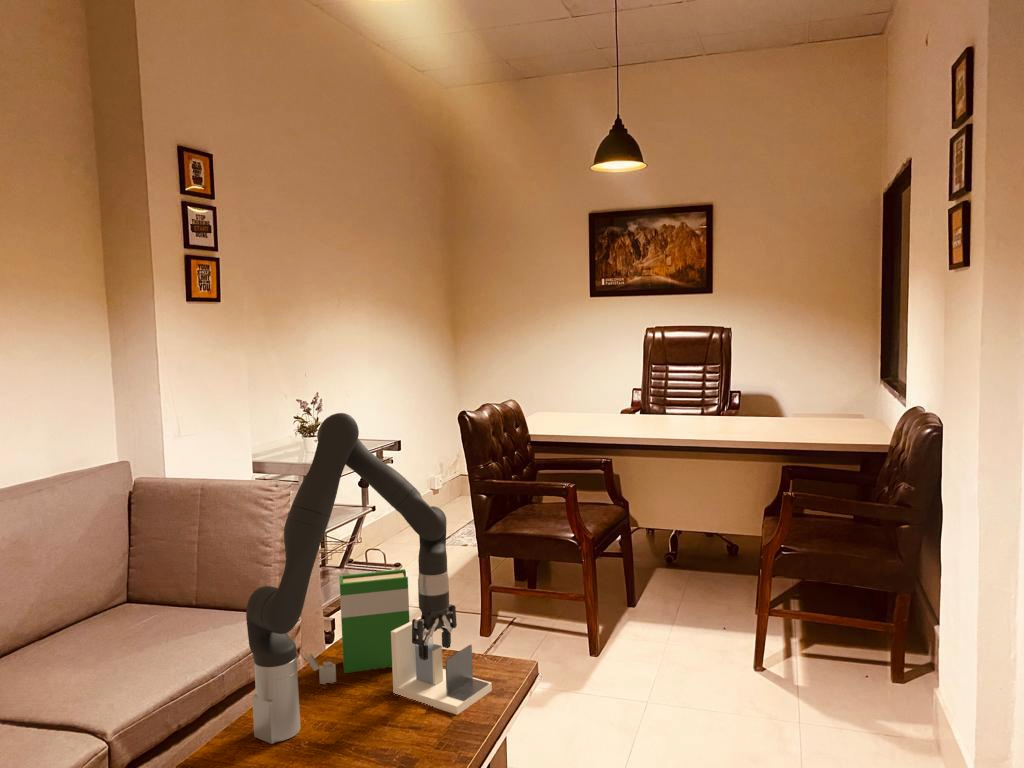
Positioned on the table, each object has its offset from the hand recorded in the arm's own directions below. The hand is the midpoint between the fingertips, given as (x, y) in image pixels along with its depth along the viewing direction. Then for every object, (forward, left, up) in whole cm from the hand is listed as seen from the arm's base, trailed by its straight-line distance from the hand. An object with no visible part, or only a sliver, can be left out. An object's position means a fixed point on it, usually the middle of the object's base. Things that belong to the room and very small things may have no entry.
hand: (435, 653), depth 196 cm
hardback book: (+4, +24, -10) cm, 27 cm away
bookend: (+1, -9, -8) cm, 12 cm away
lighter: (-12, +28, -10) cm, 32 cm away
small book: (+1, +3, -8) cm, 8 cm away
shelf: (0, -2, -10) cm, 10 cm away
